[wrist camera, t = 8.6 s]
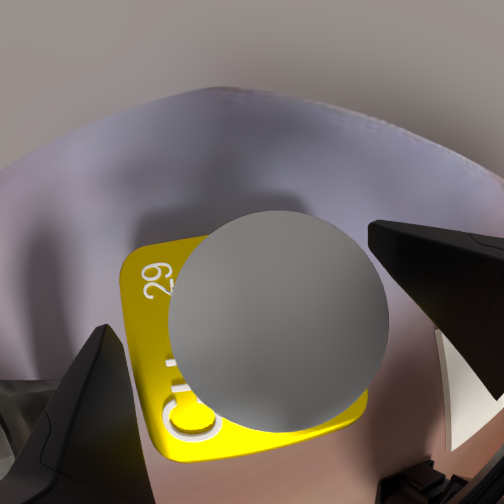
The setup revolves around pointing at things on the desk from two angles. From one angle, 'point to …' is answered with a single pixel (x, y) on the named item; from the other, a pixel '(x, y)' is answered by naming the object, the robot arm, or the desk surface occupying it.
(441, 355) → the notebook
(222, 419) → the element tile
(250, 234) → the grey cylinder
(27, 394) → the beverage cup
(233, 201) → the desk surface
